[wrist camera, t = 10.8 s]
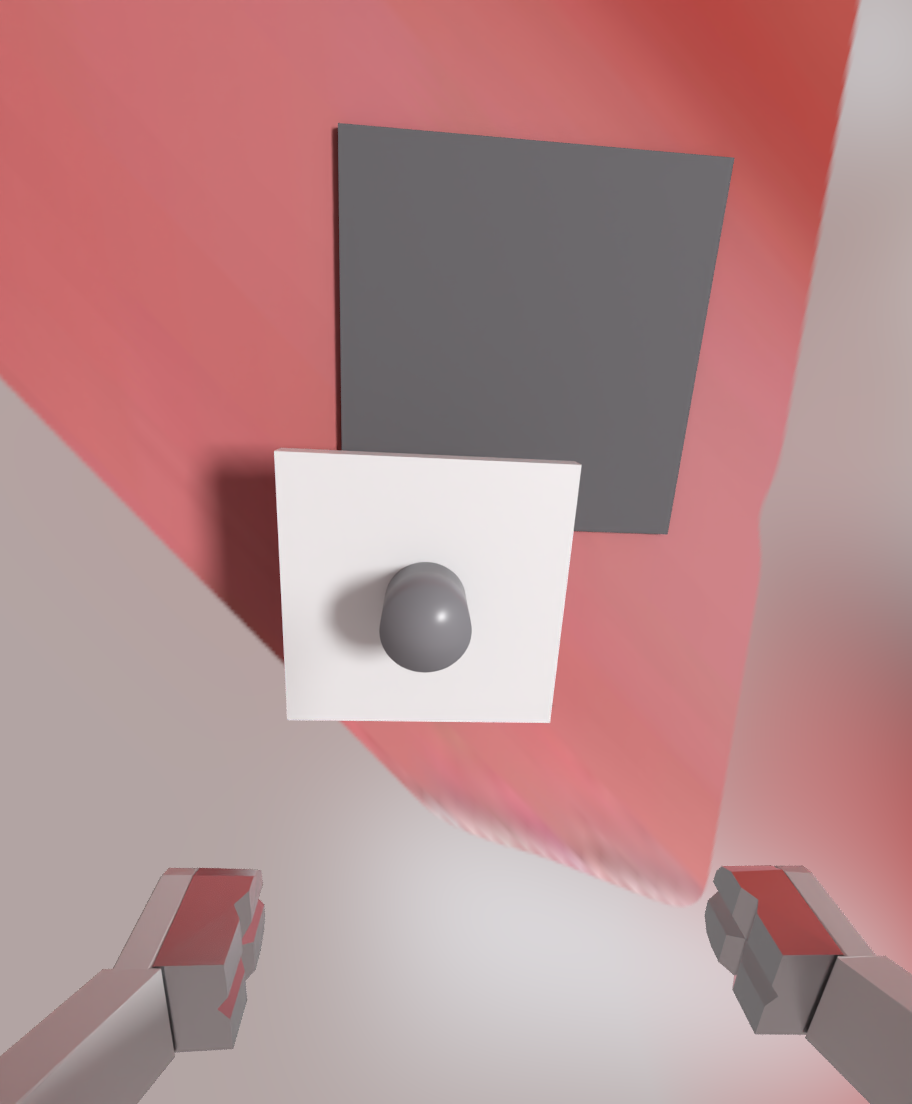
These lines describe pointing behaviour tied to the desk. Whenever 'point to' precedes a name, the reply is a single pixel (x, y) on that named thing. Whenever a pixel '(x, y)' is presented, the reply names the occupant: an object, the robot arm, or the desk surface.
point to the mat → (527, 305)
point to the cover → (422, 584)
